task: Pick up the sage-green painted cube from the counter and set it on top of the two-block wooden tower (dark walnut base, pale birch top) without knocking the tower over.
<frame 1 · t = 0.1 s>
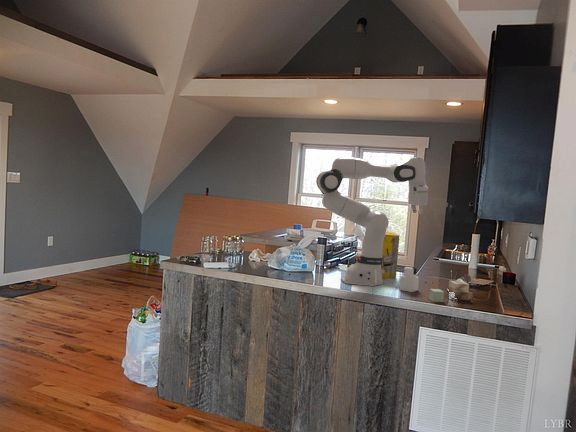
hand: (417, 213, 254), 39 cm above the worktop, tool pointing down, fingers open, 8 cm apart
medicine bottle: (408, 290, 242), on the worktop
packaging box: (379, 275, 277), on the worktop
sage cube: (435, 300, 224), on the worktop
walnut base block: (458, 298, 232), on the worktop, touching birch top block
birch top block: (458, 290, 232), point 4 cm above the worktop, touching walnut base block
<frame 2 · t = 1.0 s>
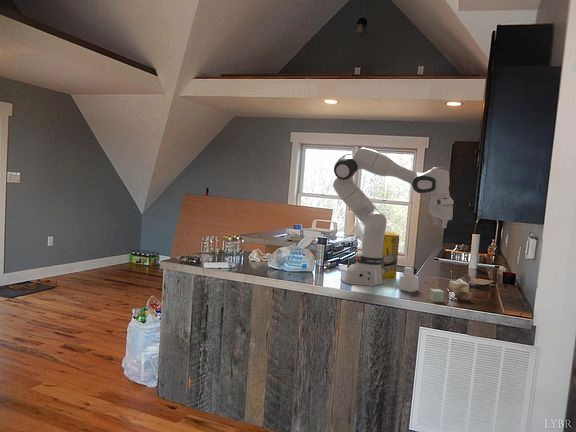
hand: (439, 226, 239), 34 cm above the worktop, tool pointing down, fingers open, 8 cm apart
nothing on the worktop moved.
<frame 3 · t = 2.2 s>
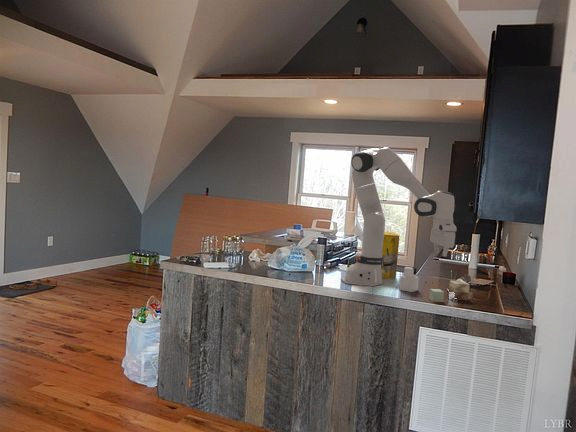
hand: (440, 254, 222), 22 cm above the worktop, tool pointing down, fingers open, 8 cm apart
nothing on the worktop moved.
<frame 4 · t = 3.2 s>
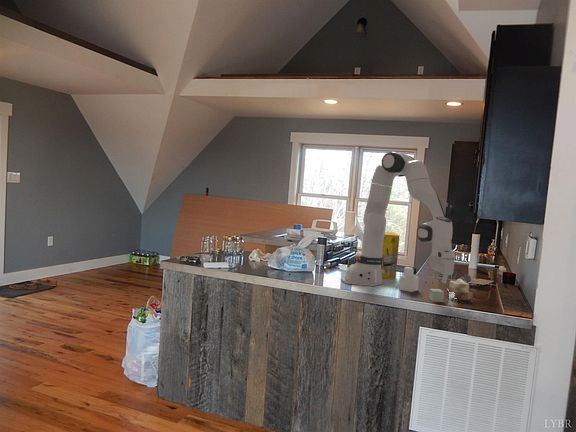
hand: (439, 280, 223), 10 cm above the worktop, tool pointing down, fingers open, 8 cm apart
nothing on the worktop moved.
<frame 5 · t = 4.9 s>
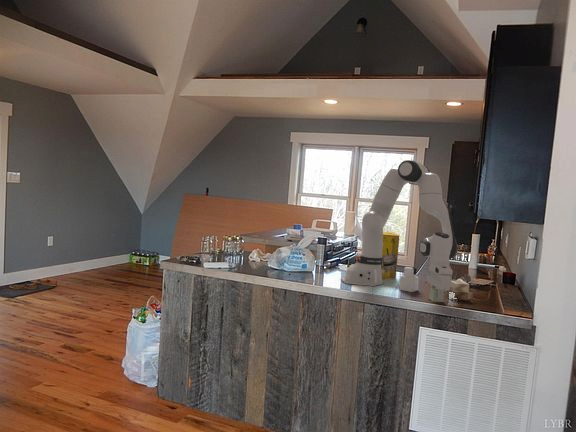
hand: (436, 296, 224), 2 cm above the worktop, tool pointing down, fingers closed on sage cube, 5 cm apart
sage cube: (435, 300, 224), on the worktop, touching gripper
walnut base block: (457, 298, 232), on the worktop
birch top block: (458, 290, 232), point 4 cm above the worktop
everything else where it was.
when the fingers open (11 cm above the worktop, at t = 11.2 s): sage cube moves 1 cm, resting on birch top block.
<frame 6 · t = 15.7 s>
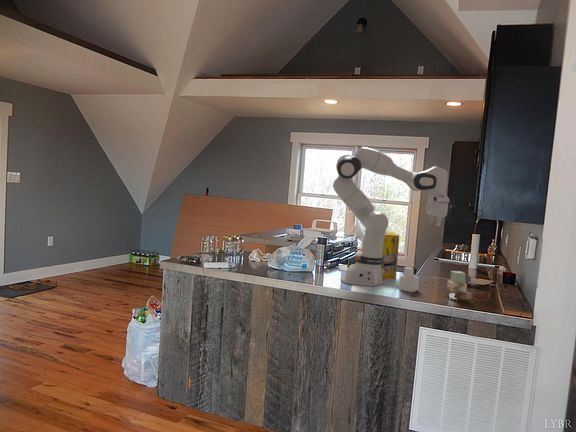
hand: (434, 224, 246), 34 cm above the worktop, tool pointing down, fingers open, 8 cm apart
sage cube: (457, 282, 232), point 8 cm above the worktop, touching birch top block
walnut base block: (455, 298, 232), on the worktop, touching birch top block
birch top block: (456, 290, 232), point 4 cm above the worktop, touching sage cube, walnut base block
everything else where it was.
at the end: sage cube 0.3 cm off-centre on the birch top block, point 4.0 cm above the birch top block's base; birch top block 0.1 cm off-centre on the walnut base block, point 4.0 cm above the walnut base block's base; sage cube tilted 0° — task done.
